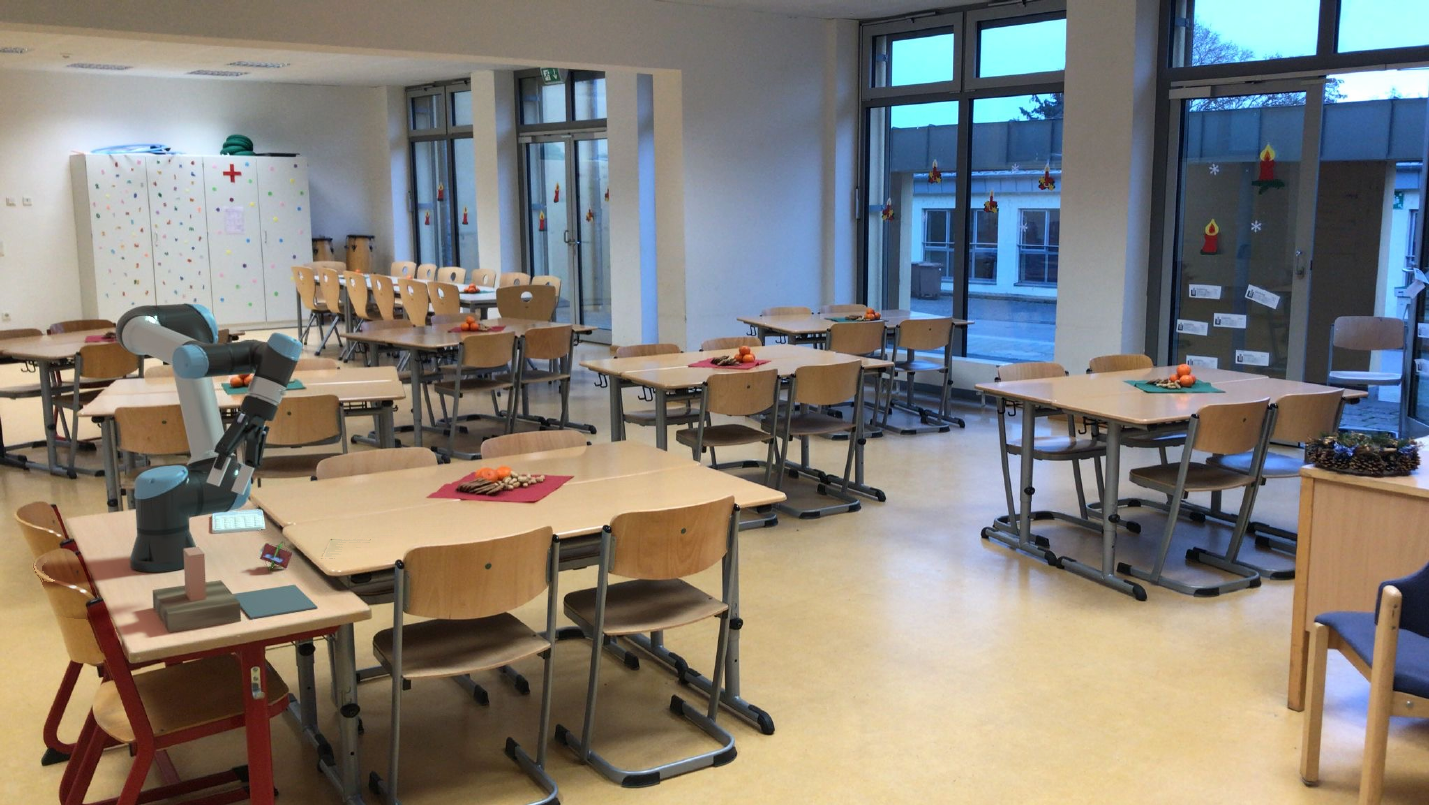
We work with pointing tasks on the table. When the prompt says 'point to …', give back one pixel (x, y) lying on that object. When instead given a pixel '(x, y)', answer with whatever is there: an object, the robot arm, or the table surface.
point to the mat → (274, 601)
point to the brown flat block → (196, 607)
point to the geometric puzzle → (275, 555)
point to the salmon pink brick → (194, 573)
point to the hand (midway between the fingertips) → (225, 489)
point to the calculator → (237, 521)
